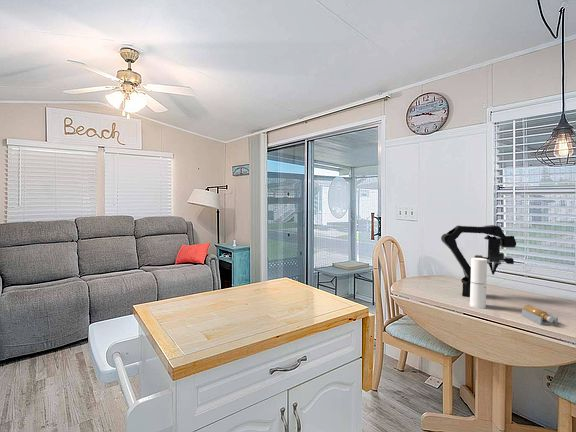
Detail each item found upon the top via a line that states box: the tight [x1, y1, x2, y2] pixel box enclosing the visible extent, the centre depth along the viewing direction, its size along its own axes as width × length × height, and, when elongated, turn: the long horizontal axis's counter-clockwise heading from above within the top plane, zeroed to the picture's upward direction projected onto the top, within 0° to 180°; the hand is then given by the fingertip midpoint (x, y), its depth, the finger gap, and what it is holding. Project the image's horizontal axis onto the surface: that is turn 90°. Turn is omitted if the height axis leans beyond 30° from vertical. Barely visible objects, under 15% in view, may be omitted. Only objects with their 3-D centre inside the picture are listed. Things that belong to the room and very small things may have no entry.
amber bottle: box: [523, 304, 554, 323], centre depth 150 cm, size 4×4×14 cm
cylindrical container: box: [469, 257, 488, 309], centre depth 169 cm, size 7×7×25 cm
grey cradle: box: [521, 308, 559, 326], centre depth 150 cm, size 11×8×3 cm
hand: (493, 274), depth 186 cm, fingers closed
